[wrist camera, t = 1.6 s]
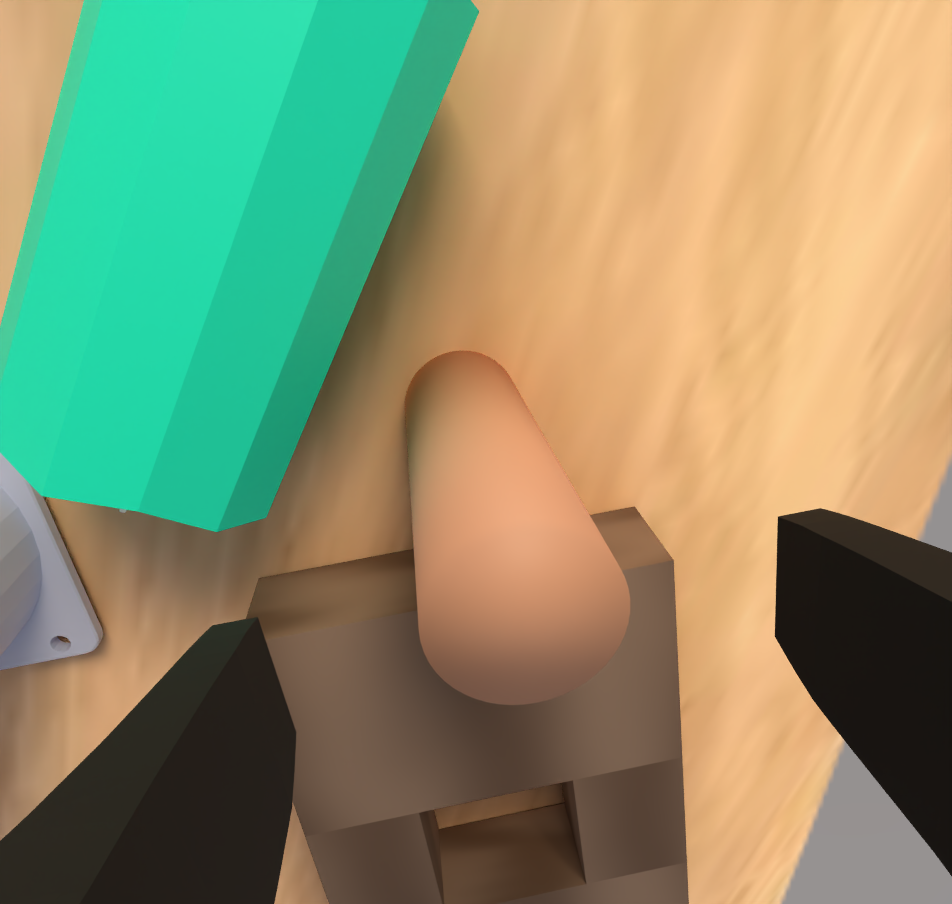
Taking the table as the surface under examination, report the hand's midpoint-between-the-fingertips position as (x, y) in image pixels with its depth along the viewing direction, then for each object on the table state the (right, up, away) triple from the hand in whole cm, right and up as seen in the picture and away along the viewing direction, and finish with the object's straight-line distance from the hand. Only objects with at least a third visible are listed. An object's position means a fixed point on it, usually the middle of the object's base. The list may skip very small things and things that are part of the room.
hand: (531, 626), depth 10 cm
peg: (-1, +4, +9) cm, 10 cm away
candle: (-3, +11, +2) cm, 12 cm away
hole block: (0, -8, +14) cm, 16 cm away
